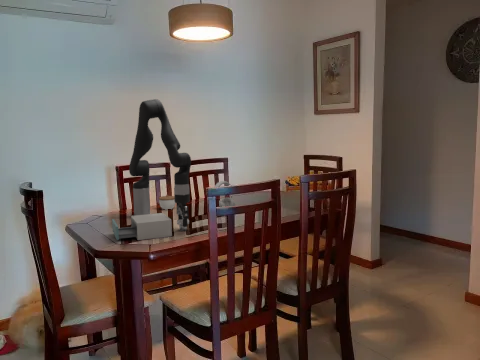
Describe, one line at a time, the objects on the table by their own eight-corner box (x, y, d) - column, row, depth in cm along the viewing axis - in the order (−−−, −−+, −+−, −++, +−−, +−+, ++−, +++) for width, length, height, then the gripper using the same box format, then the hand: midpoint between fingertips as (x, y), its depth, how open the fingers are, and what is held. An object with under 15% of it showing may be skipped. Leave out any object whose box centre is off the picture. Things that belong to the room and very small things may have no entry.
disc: (175, 222, 205) (175, 219, 205) (187, 221, 207) (187, 218, 207) (178, 225, 200) (178, 222, 199) (190, 224, 202) (190, 221, 202)
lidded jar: (157, 208, 262) (156, 194, 261) (172, 206, 267) (172, 192, 266) (162, 211, 253) (161, 196, 252) (178, 209, 258) (178, 195, 257)
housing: (131, 231, 203) (131, 215, 202) (163, 228, 209) (162, 212, 208) (137, 240, 186) (137, 223, 185) (171, 236, 193) (171, 219, 192)
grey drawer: (112, 231, 199) (111, 219, 198) (144, 227, 205) (143, 216, 204) (116, 239, 183) (116, 226, 182) (151, 235, 189) (150, 223, 188)
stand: (178, 229, 205) (178, 223, 204) (185, 229, 206) (185, 222, 206) (180, 231, 202) (180, 224, 201) (187, 230, 203) (187, 223, 202)
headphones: (219, 218, 231) (219, 183, 228) (207, 216, 236) (206, 182, 234) (238, 212, 246) (238, 180, 244) (226, 211, 251) (225, 179, 249)
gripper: (171, 191, 206) (172, 222, 208) (178, 195, 193) (179, 228, 195) (185, 190, 209) (186, 221, 211) (193, 194, 196) (194, 227, 198)
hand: (182, 224), depth 203 cm, fingers open, 8 cm apart
